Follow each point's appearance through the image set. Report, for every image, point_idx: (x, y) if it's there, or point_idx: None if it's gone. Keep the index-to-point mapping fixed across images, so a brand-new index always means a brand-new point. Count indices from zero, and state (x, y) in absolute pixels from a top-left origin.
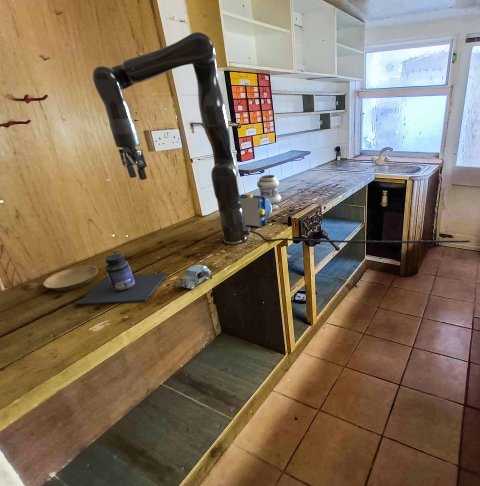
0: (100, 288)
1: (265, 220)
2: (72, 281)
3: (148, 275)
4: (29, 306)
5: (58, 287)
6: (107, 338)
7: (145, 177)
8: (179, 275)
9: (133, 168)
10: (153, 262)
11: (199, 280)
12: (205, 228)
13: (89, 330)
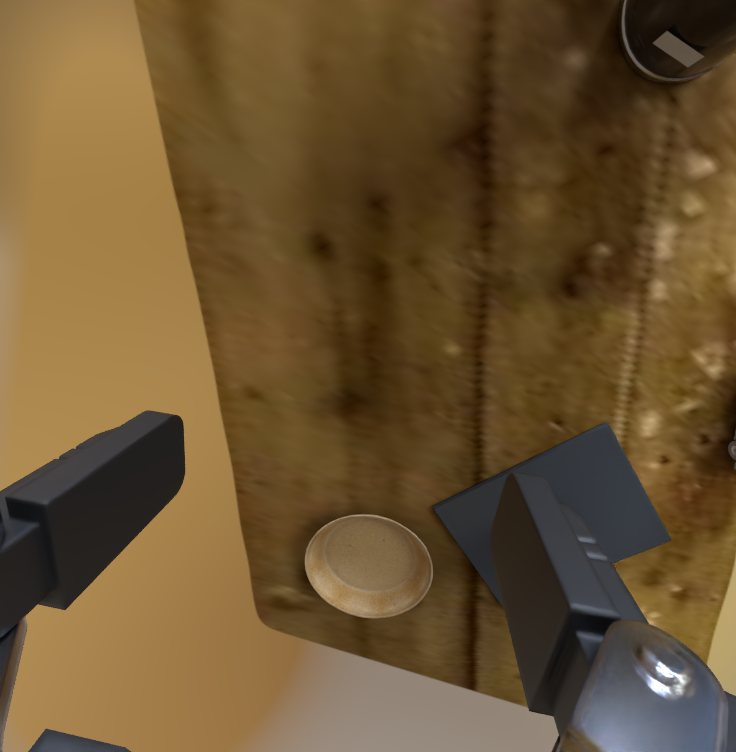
0: (485, 551)
1: None
2: (364, 556)
3: (557, 457)
4: (396, 637)
5: (407, 610)
6: (701, 639)
7: (568, 518)
8: (655, 406)
9: (70, 500)
10: (473, 384)
11: None
12: None
13: None
